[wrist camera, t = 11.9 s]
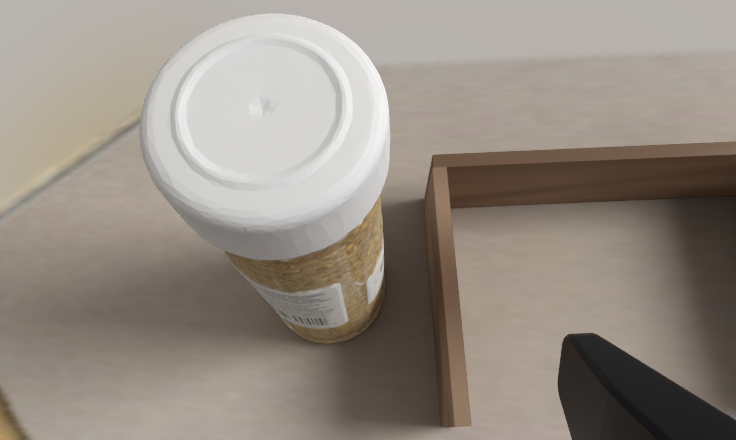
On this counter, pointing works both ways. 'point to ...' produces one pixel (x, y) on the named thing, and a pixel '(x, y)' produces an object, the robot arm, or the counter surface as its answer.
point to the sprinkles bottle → (279, 163)
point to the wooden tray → (545, 186)
